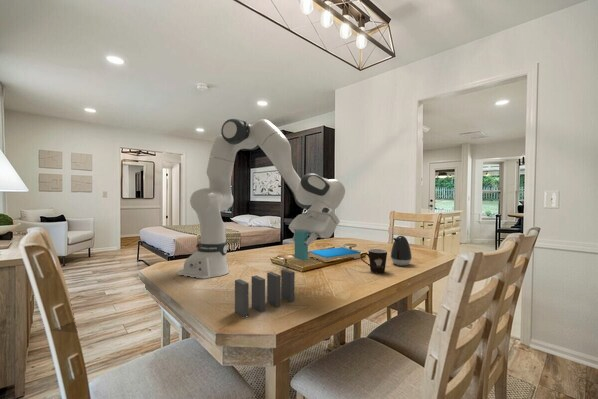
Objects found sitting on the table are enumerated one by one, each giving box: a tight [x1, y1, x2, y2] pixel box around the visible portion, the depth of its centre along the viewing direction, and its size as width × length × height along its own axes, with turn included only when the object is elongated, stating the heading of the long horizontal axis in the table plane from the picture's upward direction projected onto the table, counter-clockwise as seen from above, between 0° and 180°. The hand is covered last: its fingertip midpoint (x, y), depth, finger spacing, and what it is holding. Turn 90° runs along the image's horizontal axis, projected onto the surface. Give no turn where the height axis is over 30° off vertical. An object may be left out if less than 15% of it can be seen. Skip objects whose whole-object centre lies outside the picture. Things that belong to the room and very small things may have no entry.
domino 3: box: [266, 271, 282, 308], centre depth 91 cm, size 2×5×10 cm, turn 41°
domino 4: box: [280, 268, 296, 303], centre depth 95 cm, size 2×5×10 cm, turn 41°
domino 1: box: [234, 278, 250, 318], centre depth 83 cm, size 2×5×10 cm, turn 41°
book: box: [308, 246, 362, 261], centre depth 158 cm, size 17×4×25 cm
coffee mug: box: [359, 248, 388, 275], centre depth 130 cm, size 12×9×10 cm
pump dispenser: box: [390, 235, 413, 267], centre depth 142 cm, size 10×10×15 cm
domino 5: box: [294, 231, 309, 261], centre depth 98 cm, size 2×5×10 cm, turn 41°
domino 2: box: [251, 274, 266, 313], centre depth 87 cm, size 2×5×10 cm, turn 41°
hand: (299, 242), depth 98 cm, fingers closed on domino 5, 5 cm apart
